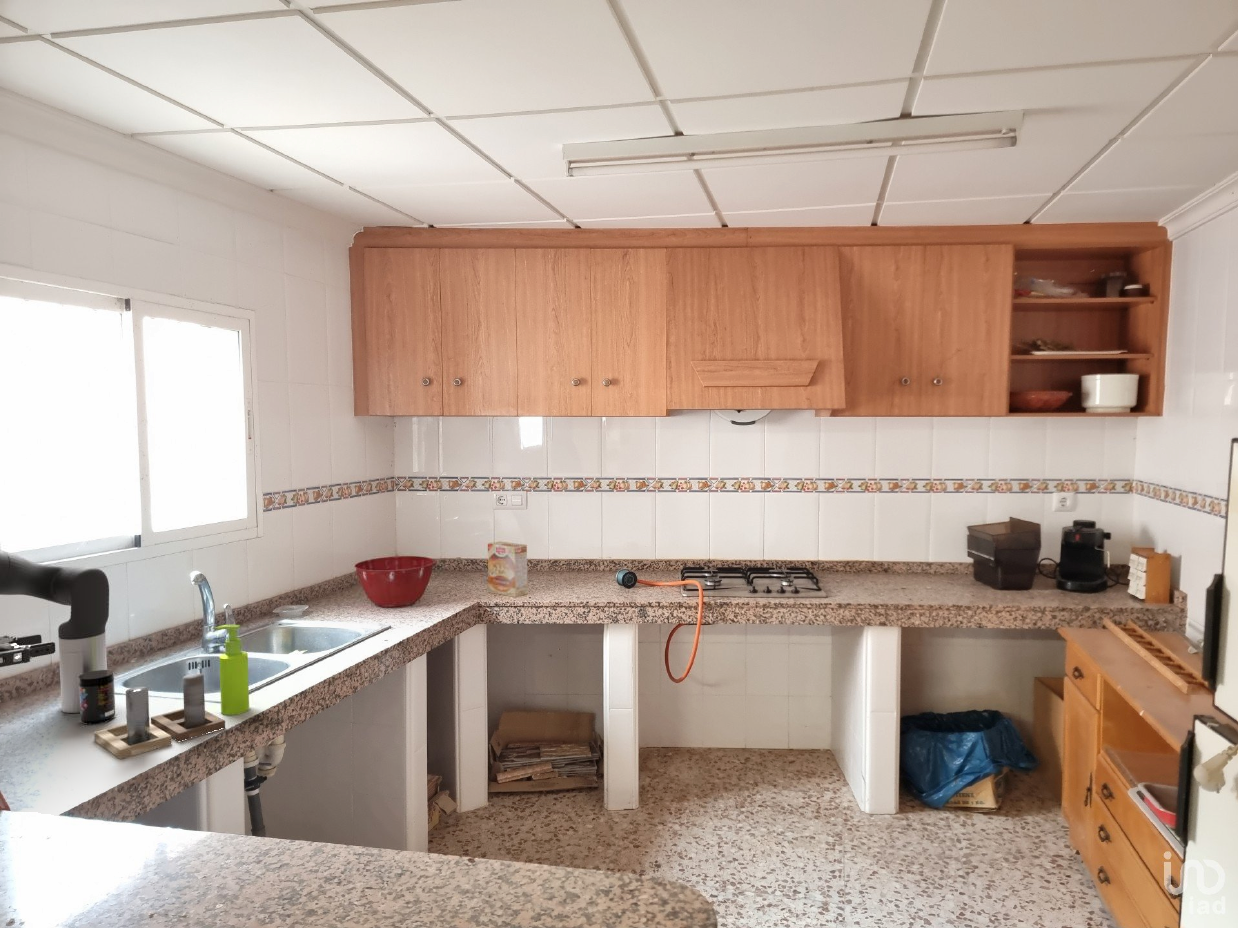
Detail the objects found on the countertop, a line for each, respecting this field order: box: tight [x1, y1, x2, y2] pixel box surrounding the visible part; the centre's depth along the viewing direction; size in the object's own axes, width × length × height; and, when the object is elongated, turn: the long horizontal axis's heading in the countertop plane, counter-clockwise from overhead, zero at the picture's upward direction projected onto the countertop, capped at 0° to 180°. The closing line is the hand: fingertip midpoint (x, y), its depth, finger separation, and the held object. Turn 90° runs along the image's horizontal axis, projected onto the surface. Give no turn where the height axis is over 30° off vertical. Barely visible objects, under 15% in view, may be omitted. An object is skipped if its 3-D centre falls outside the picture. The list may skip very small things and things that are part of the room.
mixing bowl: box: [353, 555, 436, 609], centre depth 297 cm, size 28×28×16 cm
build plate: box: [93, 722, 172, 760], centre depth 169 cm, size 15×10×2 cm, turn 50°
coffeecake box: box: [487, 541, 528, 598], centre depth 314 cm, size 15×7×20 cm, turn 53°
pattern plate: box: [150, 673, 226, 742], centre depth 177 cm, size 15×10×12 cm, turn 50°
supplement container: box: [79, 669, 116, 725], centre depth 182 cm, size 7×7×10 cm
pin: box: [125, 686, 150, 746], centre depth 166 cm, size 4×4×12 cm
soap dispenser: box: [213, 624, 250, 716], centre depth 187 cm, size 6×7×20 cm
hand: (47, 642), depth 154 cm, fingers open, 8 cm apart
